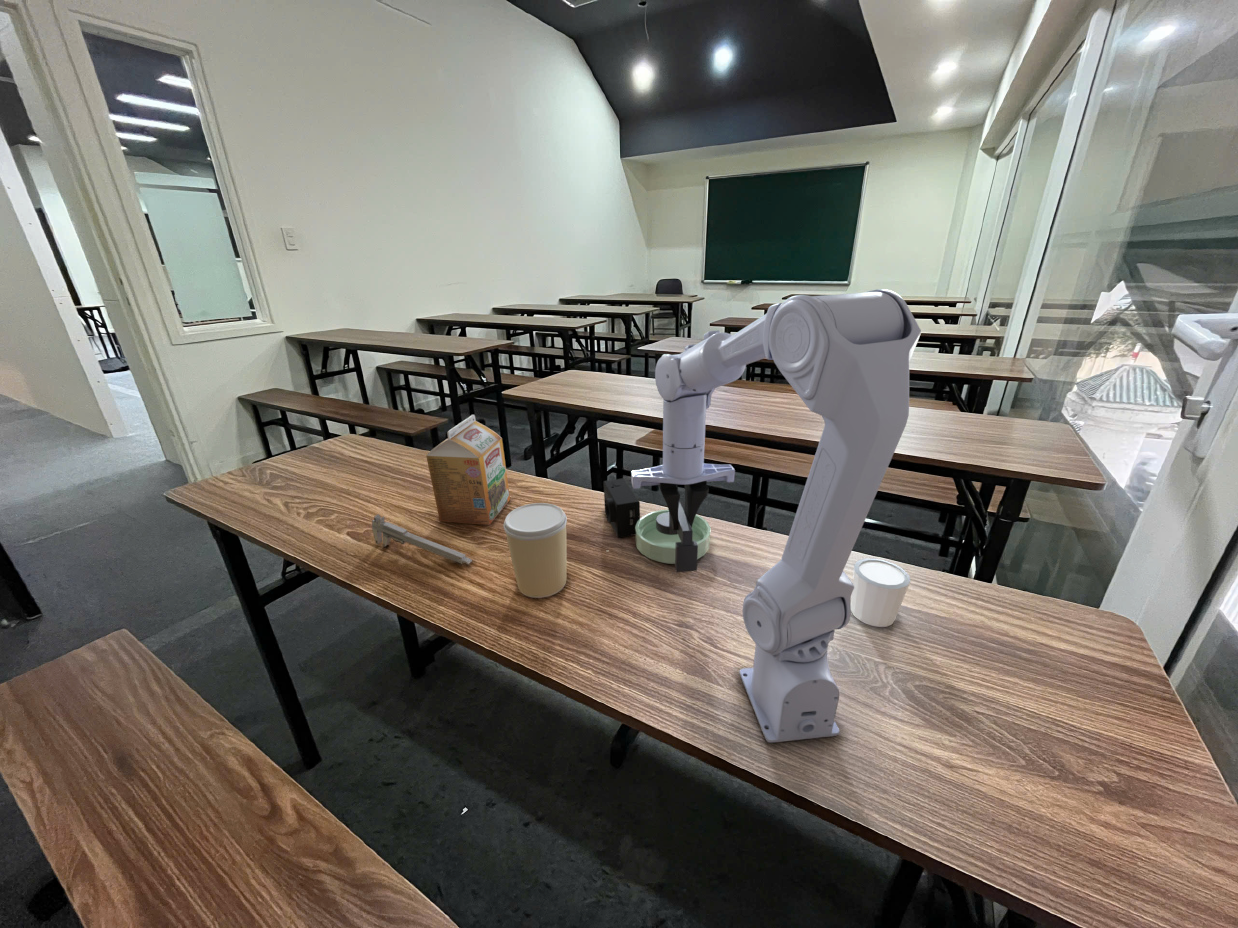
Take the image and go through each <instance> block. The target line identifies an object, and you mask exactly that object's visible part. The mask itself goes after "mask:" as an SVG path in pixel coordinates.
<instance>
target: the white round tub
mask: <svg viewBox="0 0 1238 928" xmlns="http://www.w3.org/2000/svg"><path fill="white" fill-rule="evenodd" d="M852 583H853V585H854V590H853V592H852V594H851V598H850V607H851V614H852V615H853V616H854V617H855V618H856V619H857V620H858V621H860V622H862V623H864V624H866V625H868V626H872V627H876V628H887V627H889V626H892V625H893V624H894V622H895V621H896V619H897V616H898V614H899V611H900V609H901V607H902V603H903V601H904V599H905V596H906V594H907V591H908V589H909V586H910V584H911V577H910V574H909V573H908V572H907V571H906V570H905V569H904V568H902V567H901V566H899V565H897V564H896V563H893V562H891V561H888V560H886V559H880V558H874V557H873V558H872V557H871V558H868V557H867V558H862V559H859V560H857V561H856V562H855V563H854V565H853V572H852Z"/></svg>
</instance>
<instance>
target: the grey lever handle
mask: <svg viewBox="0 0 1238 928" xmlns="http://www.w3.org/2000/svg"><path fill="white" fill-rule="evenodd" d="M678 522H679V523H678V530H673V528H672V525H671V520H670V514H669V512H667V513H662V514H660V515H658V516H657V518H656V529H657V530H658V531H659V532H660V533H663V534H667V535H677V534H678V535H679V538H680V540H681V542H676V544H675V564H674V569H675V572H676V573H688V572H697V571H698V559H697V555H698V544H697V542H696V541H692V536H693V530H692V528H691V526H690V524H689V521H688V519H687V517H686V515H685V513H684V508H683V506H682V504H681V501H680V500H679V508H678Z"/></svg>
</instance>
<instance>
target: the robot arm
mask: <svg viewBox="0 0 1238 928" xmlns="http://www.w3.org/2000/svg"><path fill="white" fill-rule="evenodd" d="M921 334H922V330H921V328H920V326H919V324H918V322H917V321H916V319H915V317H914V315H913V312H912V311H911V309H910V307H909V306H908V304H907V302H906V301H905V299H904V298H903V297H902V296H901V295H900V294H898V293H897V292H895V291H893V290H890V289H886V288H876V289H871V290H868V291H865V292H863V291H862V292H851V293H839V294H838V293H837V294H823V295H807V294H798V295H793V296H791V297H788V298H787V299H785V300H784V301H783V302H779V303H775V304H772V305H770V306H769V307H768V309H767V312H766V313H765V314H764V315H762V316H760V317H759V318H757V319H755V320H754V321H753V322H751V323H750V324H748V325H746V326H745V327H743V328H742V329H740V330H739V331H737V332H735V333H734V334H731V333H728V332H724V331H723V332H721V330H708V331H707V332H705V333H704V334H703V340H701V341H699V342H698V343H695V344H694V343H693V344H688V345H686V346H685V347H684V351H683V352H681V353H679V354H678V353H677V354H669V353H664V354H662V355H661V357H660V358H659V359H658V360H657V362H656V364H655V371H654V377H655V378H654V379H655V385H656V389H657V391H658V394H659V396H660V397H661V399H662V400H663V403H662V404H663V405H662V464H660V465H657V466H652V467H647V468H643V469H635V470H631V471H630V474H631V475H630V476H631V486H632V490H635V489H636V490H637V489H641V487H646V486H647V487H648V486H658V487H659V490H660V492H661V495H662V498H663V499H664V501H665V503H666V506H667V510H669V514H670V520H671V525H672V528H673V530H678V523H679V522H678V508H679V501H680V500H681V493H680V492H679V487H678V485H684V508H683V510H684V513H685V515H686V517H687V519H688V521H689V524H690V526H691V528H692V525H693V521H694V518H695V516H696V514H697V513H698V511H699V509H700V507H701V505H702V504H703V502H704V501H705V499H707V497H708V495H709V491H710V489H709V485H708V483H709V482H722V481H723V482H724V481H725V482H726V483H734V482H735V474H736V470H735V468H734V467H733V466H732V464H717V463H705V445H706V444H705V443H706V442H705V441H706V423H707V422H706V420H707V409H709V408H710V406H711V405H712V404H711V403H712V396H713V393H714V392H715V390H716V389H717V388H720V387H723V386H726V385H728V384H730V383H733V382H735V381H737V380H738V379H740V378H741V377H742V376H743V374H744V372H745V370H746V367H747V365H749V364H752V363H755V362H758V361H760V360H763V359H766V360H768V361H772V360H773V362H774V364H775V366H776V368H777V369H778V370H779V372H780V373H781V374H782V376H783V377H784V378H785V380H786V381H787V382H788V383H789V385H790V386H791V388H792V389H793V390H794V391H795V393H796V395H798V397H799V398H800V399H801V401H802V402H803V403H804V405H806V407H807V408H808V409H809V411H810V412H812V413H814V414H817V415H818V416H821V418H822V419H823V421H824V426H823V428H822V429H823V430H822V433H821V436H820V439H819V442H818V446H817V447H816V450H815V451H816V452H815V454H814V458H813V460H812V464H811V467H810V470H809V472H808V476H807V479H806V481H805V485H804V488H803V491H802V493H801V494H802V495H801V497H800V500H799V504H798V506H797V509H796V513H795V516H794V519H793V522H792V525H791V528H790V531H789V534H788V537H787V541H786V542H785V547H784V550H783V553H782V556H781V559H780V560H778V562H777V563H775V564H774V565H773V566H772V567H771V568H769V569H768V570H767V571H766V572H765V573H763V574H762V575H761V577H759V578H758V579H757V581H756V583H755V585H754V586H755V587H754V589H753V590H752V591H750V592H749V593H747V594H746V596H745V597H744V599H743V601H742V602H743V603H742V619H743V623H744V626H745V629H746V632H747V633H748V635H749V637H750V638H751V640H752V641H753V642H754V643H755V646H754V647H755V648H754V657H753V664H752V665H753V666H752V667H745V668H741V669H739V677H740V679H741V682H742V684H743V687H744V690H745V692H746V694H747V697H748V699H749V701H750V704H751V707H752V709H753V711H754V714H755V717H756V718H757V719H756V720H757V721H758V724H759V726H760V729H761V732H762V734H763V736H764V739H765V740H766V742H767V743H771V744H772V743H779V742H780V743H781V742H791V741H801V740H811V739H819V738H827V737H828V738H829V737H836V736H839V735H840V728H839V726H838V725H837V723H836V721H835V719H836V715H837V709H838V705H839V699H840V690H839V686H838V685H837V683H836V681H835V679H834V677H833V675H832V673H831V669H830V667H829V660H828V648H829V644H830V642H831V641H833V640H834V636H835V631H836V630H842V629H844V628H845V627H846V626H848V624H849V623H850V621H851V617H852V616H851V615H852V612H851V596H852V592H853V590H854V585H853V581H852V580H851V579H850V577H849V576H848V574H847V573H845V571H844V570H845V567H846V565H847V563H848V561H849V559H850V555H851V553H852V551H853V549H854V547H855V545H856V542H857V539H858V537H859V535H860V533H861V531H862V528H863V526H864V523H865V522H866V519H867V517H868V514H869V512H870V510H871V508H872V505H873V502H874V500H875V498H876V496H877V493H878V491H879V489H880V487H881V484H882V482H883V479H884V477H885V475H886V472H887V470H888V468H889V465H890V463H891V461H892V459H893V457H894V454H895V452H896V450H897V447H898V444H899V442H900V441H901V438H902V435H903V433H904V431H905V429H906V426H907V422H908V420H909V416H910V361H911V359H912V356H913V353H914V352H915V349H916V346H917V345H918V342H919V339H920V336H921Z"/></svg>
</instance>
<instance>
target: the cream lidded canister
mask: <svg viewBox="0 0 1238 928" xmlns="http://www.w3.org/2000/svg"><path fill="white" fill-rule="evenodd" d="M567 523H568V517H567V515H566V513H565V510H563V509H562V508H561V507H560V506H558V505H556V504H553V503H547V502H534V503H533V502H532V503H528V504H527V503H526V504H523V505H521V506H518V507H516V508H514V509H513V510H511V511H510V512H509V513H508V514H507V515H506V517H505V519H504V522H503V531H504V532H505V535H506V540H507V541H506V542H507V545H508V550H509V553H510V560H511V564H512V567H513V573H514V577H515V581H516V585H517V588H518V590H519V592H520V593H521V594H522V595H524V596H525V597H528V598H533V599H542V598H543V599H544V598H548V597H551V596H554V595H556V594H557V593H559V592H561V591H562V590H563V589H564V587H565V586H566V583H567V575H568V572H567V571H568V570H567V569H568V568H567V567H568V565H567V563H568V562H567V560H568V557H567V553H568V551H567Z"/></svg>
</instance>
